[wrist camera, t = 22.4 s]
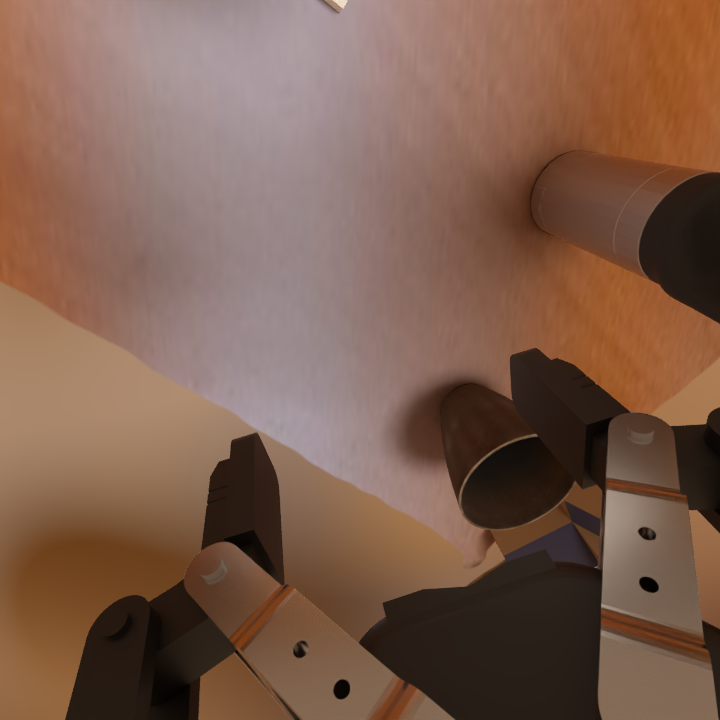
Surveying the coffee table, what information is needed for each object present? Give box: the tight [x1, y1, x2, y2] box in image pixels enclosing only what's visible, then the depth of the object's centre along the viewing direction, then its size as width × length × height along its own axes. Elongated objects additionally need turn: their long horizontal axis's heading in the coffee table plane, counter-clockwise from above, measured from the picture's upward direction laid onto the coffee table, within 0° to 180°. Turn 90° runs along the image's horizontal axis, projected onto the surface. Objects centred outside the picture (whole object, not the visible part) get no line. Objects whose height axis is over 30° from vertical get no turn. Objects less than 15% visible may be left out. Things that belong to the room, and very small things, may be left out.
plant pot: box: [441, 384, 576, 531], centre depth 58 cm, size 15×15×16 cm
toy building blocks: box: [490, 482, 602, 567], centre depth 69 cm, size 12×19×25 cm, turn 117°
